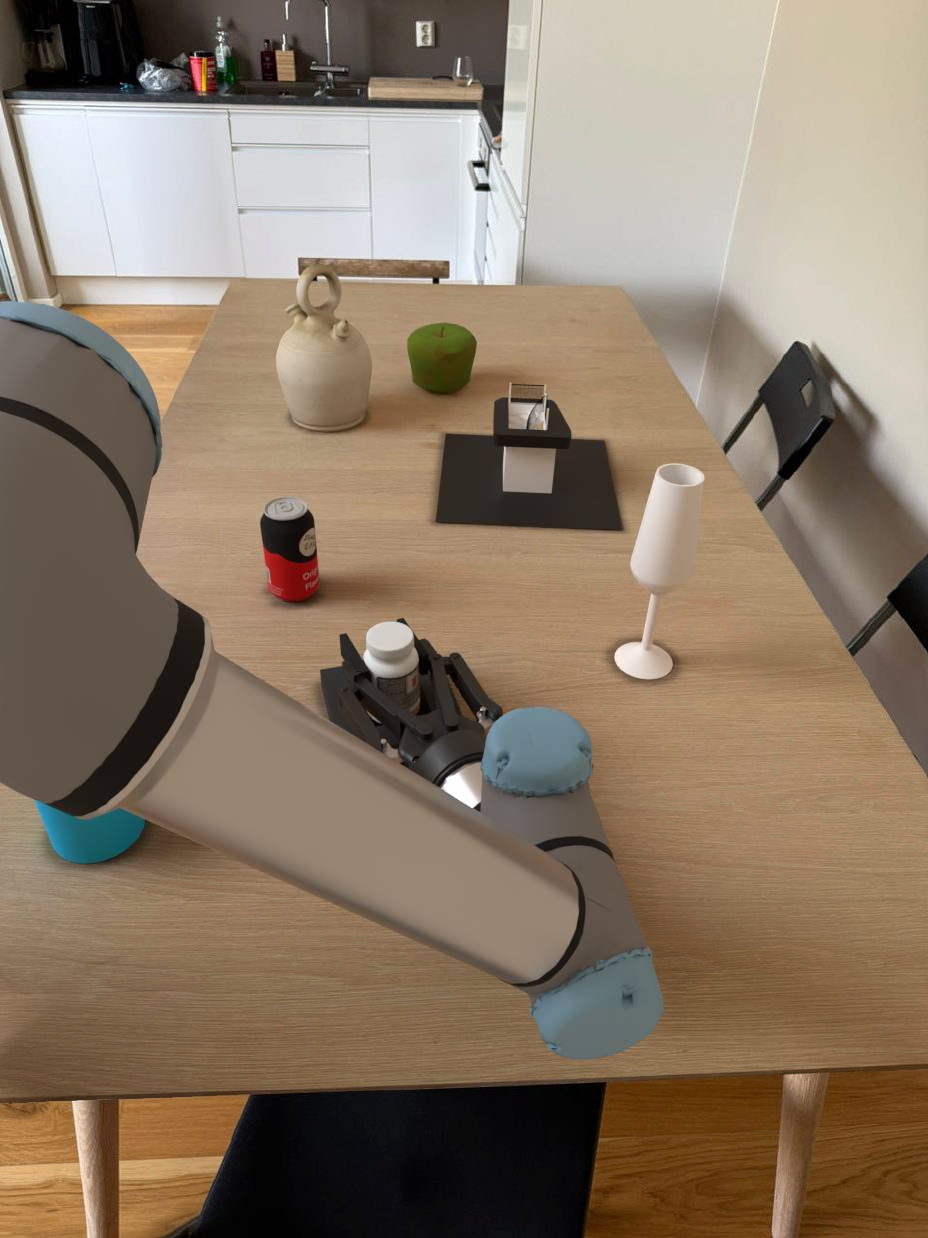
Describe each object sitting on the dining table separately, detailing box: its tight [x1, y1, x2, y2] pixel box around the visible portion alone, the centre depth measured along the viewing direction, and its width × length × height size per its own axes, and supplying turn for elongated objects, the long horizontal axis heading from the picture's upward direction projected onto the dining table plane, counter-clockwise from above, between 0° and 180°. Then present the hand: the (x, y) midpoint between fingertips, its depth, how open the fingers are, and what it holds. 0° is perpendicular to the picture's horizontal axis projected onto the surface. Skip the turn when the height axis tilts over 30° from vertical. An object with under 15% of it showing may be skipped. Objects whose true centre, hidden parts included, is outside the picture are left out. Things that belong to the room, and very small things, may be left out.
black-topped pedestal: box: [435, 382, 623, 531], centre depth 132 cm, size 28×26×13 cm
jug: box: [275, 263, 373, 433], centre depth 143 cm, size 15×16×25 cm
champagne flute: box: [614, 463, 705, 680], centre depth 95 cm, size 7×7×24 cm
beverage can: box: [259, 496, 321, 603], centre depth 108 cm, size 6×6×12 cm
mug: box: [33, 799, 146, 865], centre depth 80 cm, size 12×8×8 cm
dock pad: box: [319, 650, 463, 749], centre depth 93 cm, size 13×13×2 cm
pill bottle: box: [362, 621, 421, 725], centre depth 90 cm, size 6×6×10 cm
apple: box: [406, 322, 478, 396], centre depth 159 cm, size 12×12×11 cm
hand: (372, 636), depth 93 cm, fingers closed on pill bottle, 6 cm apart
